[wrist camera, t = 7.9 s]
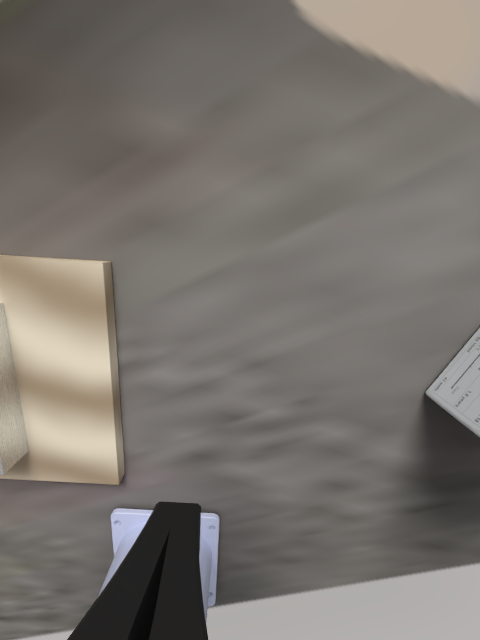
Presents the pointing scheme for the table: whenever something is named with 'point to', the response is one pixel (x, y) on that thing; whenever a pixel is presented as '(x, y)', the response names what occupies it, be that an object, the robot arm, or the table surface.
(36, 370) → the board
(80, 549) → the table surface
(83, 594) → the table surface
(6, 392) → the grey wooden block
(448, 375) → the light bulb box
